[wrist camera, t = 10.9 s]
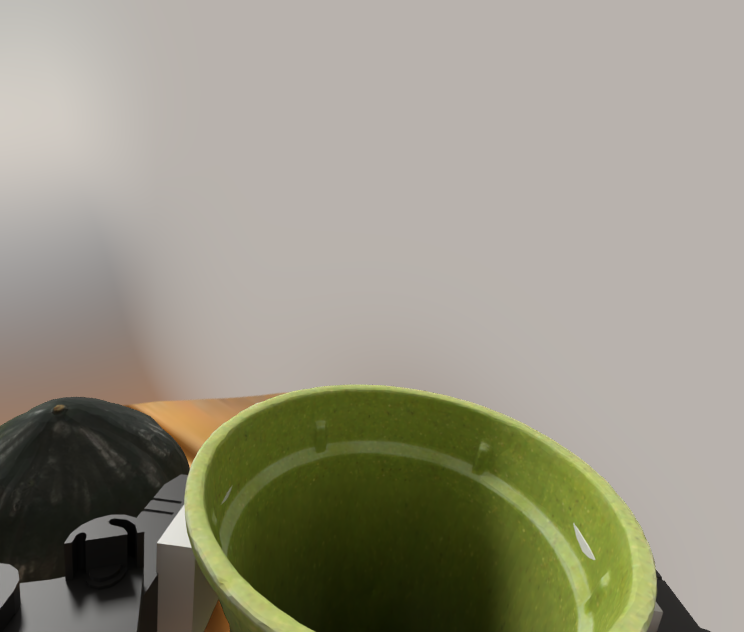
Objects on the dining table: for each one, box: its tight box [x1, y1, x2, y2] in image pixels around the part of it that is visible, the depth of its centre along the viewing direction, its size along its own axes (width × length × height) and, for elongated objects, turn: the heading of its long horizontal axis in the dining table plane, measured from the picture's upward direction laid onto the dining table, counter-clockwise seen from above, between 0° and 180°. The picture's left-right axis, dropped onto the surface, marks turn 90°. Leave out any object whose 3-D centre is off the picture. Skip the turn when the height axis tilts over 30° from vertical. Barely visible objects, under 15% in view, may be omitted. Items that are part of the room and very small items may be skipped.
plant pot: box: [184, 385, 657, 632], centre depth 11 cm, size 9×9×9 cm
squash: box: [0, 397, 190, 583], centre depth 32 cm, size 14×15×15 cm
